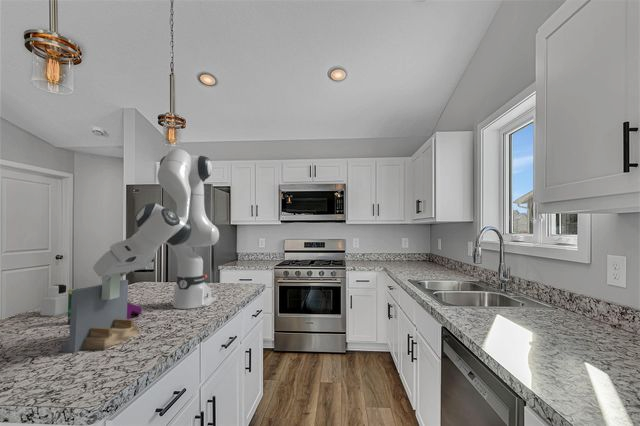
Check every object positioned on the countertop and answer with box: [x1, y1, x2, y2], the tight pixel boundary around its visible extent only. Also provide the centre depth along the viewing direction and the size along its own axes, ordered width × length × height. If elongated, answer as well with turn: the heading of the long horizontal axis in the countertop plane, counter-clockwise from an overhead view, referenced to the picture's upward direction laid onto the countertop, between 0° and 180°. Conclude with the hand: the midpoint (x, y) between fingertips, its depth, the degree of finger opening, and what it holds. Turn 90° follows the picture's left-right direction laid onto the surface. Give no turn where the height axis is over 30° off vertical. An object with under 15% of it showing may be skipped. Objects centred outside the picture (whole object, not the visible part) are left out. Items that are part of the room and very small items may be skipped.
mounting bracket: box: [127, 301, 143, 319], centre depth 121 cm, size 9×8×18 cm
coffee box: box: [67, 288, 82, 326], centre depth 118 cm, size 8×3×13 cm, turn 126°
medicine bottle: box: [40, 284, 68, 317], centre depth 130 cm, size 7×7×12 cm
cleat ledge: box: [84, 318, 139, 351], centre depth 100 cm, size 14×7×6 cm, turn 172°
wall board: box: [59, 279, 129, 353], centre depth 101 cm, size 20×5×18 cm, turn 172°
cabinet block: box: [101, 273, 121, 300], centre depth 101 cm, size 4×3×10 cm
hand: (110, 278), depth 101 cm, fingers closed on cabinet block, 4 cm apart
